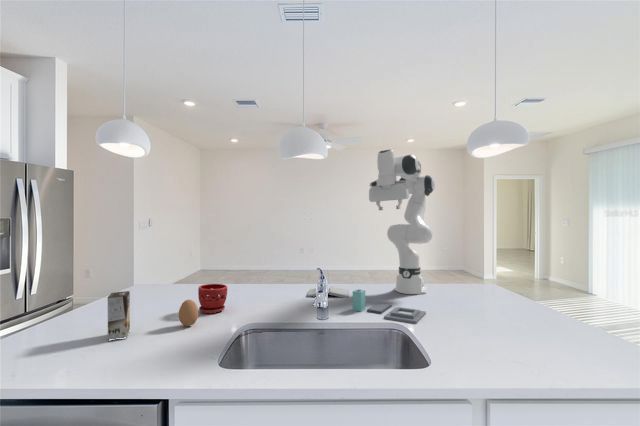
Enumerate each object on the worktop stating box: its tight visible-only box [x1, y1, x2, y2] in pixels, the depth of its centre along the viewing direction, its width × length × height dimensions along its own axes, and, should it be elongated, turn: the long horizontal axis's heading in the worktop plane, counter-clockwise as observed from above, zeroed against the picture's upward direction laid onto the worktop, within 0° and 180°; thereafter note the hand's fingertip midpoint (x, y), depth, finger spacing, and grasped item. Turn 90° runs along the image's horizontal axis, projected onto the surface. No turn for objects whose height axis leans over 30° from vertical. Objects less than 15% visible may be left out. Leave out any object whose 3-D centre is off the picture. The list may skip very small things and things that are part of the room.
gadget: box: [306, 286, 350, 299], centre depth 195 cm, size 23×15×4 cm, turn 86°
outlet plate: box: [383, 306, 427, 325], centre depth 153 cm, size 16×14×2 cm
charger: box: [352, 289, 366, 313], centre depth 163 cm, size 4×4×9 cm
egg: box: [178, 299, 199, 327], centre depth 142 cm, size 8×8×11 cm
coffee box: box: [107, 290, 131, 340], centre depth 130 cm, size 9×6×16 cm
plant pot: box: [197, 283, 228, 314], centre depth 163 cm, size 13×13×12 cm
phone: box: [366, 302, 393, 315], centre depth 165 cm, size 7×14×1 cm, turn 149°
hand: (389, 209), depth 172 cm, fingers open, 8 cm apart
